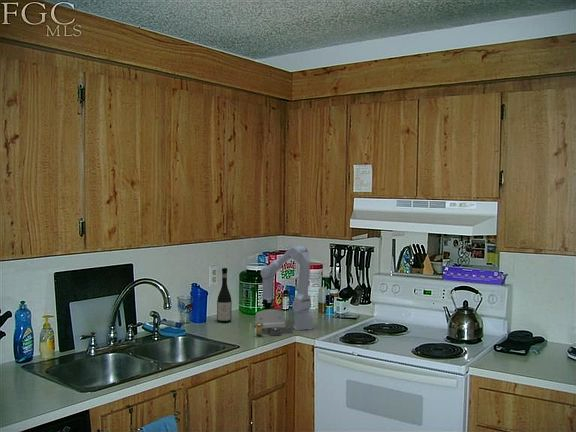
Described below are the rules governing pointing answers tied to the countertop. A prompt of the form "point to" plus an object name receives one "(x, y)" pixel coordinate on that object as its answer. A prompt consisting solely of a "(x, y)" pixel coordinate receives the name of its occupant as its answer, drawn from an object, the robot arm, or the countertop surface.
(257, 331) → the pin
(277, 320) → the hinge
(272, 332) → the lip
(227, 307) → the wine bottle
